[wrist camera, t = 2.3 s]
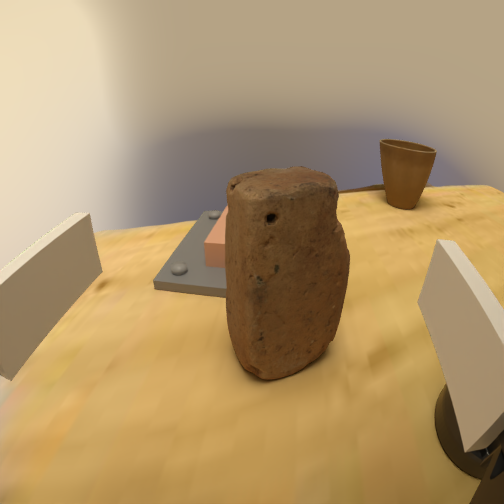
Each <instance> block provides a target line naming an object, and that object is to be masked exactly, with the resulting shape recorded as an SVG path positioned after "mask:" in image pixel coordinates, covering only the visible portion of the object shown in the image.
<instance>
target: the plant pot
mask: <svg viewBox="0 0 504 504" xmlns="http://www.w3.org/2000/svg"><path fill="white" fill-rule="evenodd" d="M436 152H437V151H436V150H435V149H433V148H431V147H428V146H425V145H422V144H418V143H413V142H408V141H401V140H392V139H382V140H380V154H381V166H382V174H383V181H384V187H385V192H386V196H387V201H388V203H389V204H390V205H392V206H394V207H397V208H401V209H412V208H414V206H415V205H416V203H417V201H418V200H419V198H420V196H421V194H422V192H423V190H424V188H425V185H426V183H427V181H428V178H429V175H430V173H431V169H432V167H433V163H434V160H435V156H436Z"/></svg>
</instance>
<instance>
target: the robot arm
mask: <svg viewBox="0 0 504 504" xmlns="http://www.w3.org/2000/svg"><path fill="white" fill-rule="evenodd" d="M102 272H103V271H102V267H101V263H100V259H99V255H98V251H97V246H96V242H95V237H94V233H93V228H92V223H91V218H90V213H75V214H73V215H72V216H70V217H69V218H67V219H66V220H65V221H63V222H62V223H60V224H59V225H58V226H56V227H55V228H54V229H52V230H51V231H49V232H48V233H47V234H45V235H44V236H43V237H41V238H40V239H39V240H37V241H36V242H35V243H34V244H32V245H31V246H30V247H28V248H27V249H26V250H24V251H23V252H22V253H21V254H19V255H18V256H17V257H16V258H14V259H13V260H12V261H11V262H10V263H8V264H7V265H6V266H5V267H4V268H2V269H1V270H0V375H1V376H3V377H5V378H7V379H8V380H10V381H12V379H13V378H14V377H15V375H16V374H17V373H18V371H19V370H20V369H21V367H22V366H23V365H24V363H25V362H26V361H27V359H28V358H29V357H30V356H31V354H32V353H33V352H34V351H35V349H36V348H37V347H38V346H39V344H40V343H41V342H42V341H43V339H44V338H45V337H46V336H47V334H48V333H49V332H50V331H51V330H52V328H53V327H54V326H55V325H56V324H57V322H58V321H59V320H60V319H61V318H62V317H63V315H64V314H65V313H66V312H67V311H68V310H69V308H70V307H71V306H72V305H73V304H74V303H75V302H76V300H77V299H78V298H79V297H80V296H81V295H82V294H83V293H84V291H85V290H86V289H87V288H88V287H89V286H90V285H91V284H92V283H93V281H94V280H95V279H96V278H97V277H98V276H99V275H100V274H101V273H102ZM418 305H419V307H420V310H421V312H422V315H423V317H424V320H425V323H426V325H427V328H428V330H429V333H430V336H431V339H432V341H433V344H434V347H435V350H436V353H437V355H438V358H439V361H440V364H441V367H442V370H443V374H444V377H445V380H446V385H445V387H444V388H443V390H442V391H441V393H440V395H439V398H438V401H437V404H436V410H435V423H436V429H437V433H438V437H439V439H440V442H441V444H442V446H443V448H444V450H445V452H446V453H447V455H448V456H449V457H450V459H451V460H452V461H453V462H454V463H455V464H456V465H457V466H458V467H459V468H460V469H462V470H463V471H465V472H466V473H468V474H470V475H472V476H474V477H477V478H480V479H482V480H481V482H480V485H479V486H478V488H477V490H476V492H475V494H474V496H473V498H472V500H471V502H470V504H504V309H503V308H502V306H501V305H500V303H499V302H498V300H497V299H496V297H495V296H494V294H493V293H492V291H491V290H490V288H489V287H488V285H487V284H486V282H485V281H484V280H483V278H482V277H481V275H480V274H479V273H478V271H477V270H476V269H475V267H474V266H473V265H472V263H471V262H470V261H469V259H468V258H467V257H466V255H465V254H464V253H463V251H462V250H461V249H460V248H459V246H458V245H457V244H456V242H455V241H449V240H441V239H437V241H436V245H435V248H434V252H433V255H432V259H431V262H430V265H429V269H428V272H427V275H426V278H425V281H424V284H423V287H422V290H421V293H420V296H419V299H418Z"/></svg>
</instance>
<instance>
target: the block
mask: <svg viewBox="0 0 504 504" xmlns="http://www.w3.org/2000/svg"><path fill="white" fill-rule="evenodd" d="M226 192H227V203H228V213H227V215H226V228H225V272H226V287H227V289H226V311H227V323H228V329H229V334H230V338H231V341H232V345H233V347H234V350H235V352H236V354H237V357H238V359H239V362H240V363H241V365H242V366H243V367H244V368H245V369H246V370H247V371H249V372H252V373H254V374H255V375H257V376H258V377H260V378H262V379H277V378H281V377H285V376H288V375H291V374H294V373H296V372H297V371H299V370H301V369H302V368H304V367H305V366H306V365H307V364H308V363H310V362H312V361H314V360H315V359H317V358H318V357H319V356H320V355H321V354H322V353H323V352H324V351H325V350H326V348H327V347H328V345H329V343H330V341H332V340H333V339H334V336H335V334H336V331H337V328H338V325H339V321H340V317H341V313H342V308H343V303H344V298H345V294H346V289H347V283H348V276H349V264H350V254H349V250H348V249H347V244H346V239H345V233H344V231H343V228H342V225H341V223H340V222H339V221H338V219H337V216H336V209H337V201H338V197H339V195H338V190H337V185H336V182H335V181H334V180H333V179H332V178H331V177H330V176H329V175H327V174H325V173H323V172H318V171H315V170H311V169H309V168H306V167H302V166H301V167H290V168H287V169H264V170H259V171H253V172H247V173H243V174H240V175H237V176H235V177H233V178H231V180H230V181H229V183H228V186H227V190H226Z"/></svg>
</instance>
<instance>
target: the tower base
mask: <svg viewBox="0 0 504 504" xmlns="http://www.w3.org/2000/svg"><path fill="white" fill-rule="evenodd" d="M227 213H228V205H227V207H226V208H225V210H224V211H223V212H220V211H217V210H216V211H215V210H214V211H204V212H203V214H202V215H201V216H200V218H199V219H198V220H197V222H196V223H195V224H194V226H193V227H192V228H191V230H190V231H189V232H188V234H187V235H186V236H185V238H184V239H183V240H182V242H181V243H180V244H179V246H178V247H177V248H176V250H175V251H174V252H173V254H172V255H171V256H170V258H169V259H168V261H167V262H166V263H165V265H164V266H163V267H162V269H161V270H160V272H159V273H158V274H157V276H156V277H155V279H154V280H153V282H154V287H155V289H159V290H166V291H174V292H182V293H190V294H199V295H208V296H217V297H226V289H227V287H226V272H225V228H226V215H227Z"/></svg>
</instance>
